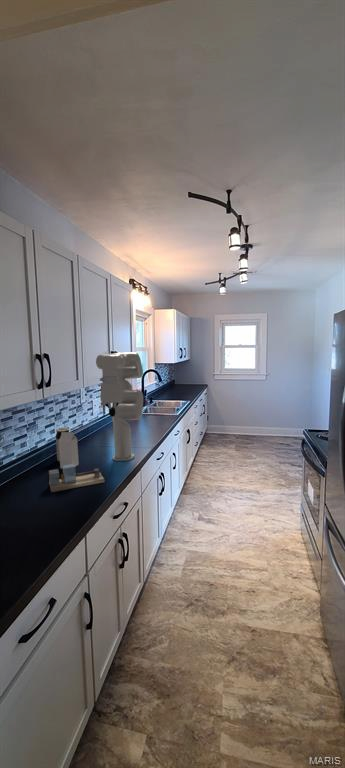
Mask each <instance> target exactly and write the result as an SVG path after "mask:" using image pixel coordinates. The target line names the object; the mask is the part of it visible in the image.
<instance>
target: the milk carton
mask: <svg viewBox="0 0 345 768" xmlns="http://www.w3.org/2000/svg"><path fill="white" fill-rule="evenodd" d="M59 454H60V461H59V464H60V469H62V470H63V465H66V464H72V463H74V466H75V468H76V467H77V466H79V464H80V461H79V447H78V437H76V435H75V433H74V432H72V431H71V432H70V431H69V432H61V437H60V439H59Z"/></svg>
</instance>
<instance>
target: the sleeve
mask: <svg viewBox="0 0 345 768" xmlns="http://www.w3.org/2000/svg"><path fill="white" fill-rule="evenodd" d="M62 474H63V476H64V482H65V484H66V483H72V482H76V477H77V476H76V474H77V473H76V467H75V466H74V463H72V464H66V465H63V469H62Z"/></svg>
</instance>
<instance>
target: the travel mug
mask: <svg viewBox="0 0 345 768" xmlns="http://www.w3.org/2000/svg"><path fill="white" fill-rule="evenodd" d="M55 432H56V434H55V445H56V457H57V459H56V460H57V461H58V462H60V454H59V439H60V437H61V432H70V428H69V427H60V428H57V429H55Z"/></svg>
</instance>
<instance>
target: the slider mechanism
mask: <svg viewBox="0 0 345 768" xmlns="http://www.w3.org/2000/svg"><path fill="white" fill-rule="evenodd" d="M48 476H49V482H48V483H49V484H48V485H49V487H50V492H51V493H55V492H59V491H65V490H69V489H70V490H71V489H75V488H80V487H85V486H91V485H97V484H101V483H102V484H103V483H105V481H106V480H105V478H104V476H103V475H102V473H101V472H100V469H99V468H97V467H96V468H93V470H91V471H86V472H85V471H84V472H80V473H78V472H77V473H76V482H72V483H66V484H65V482H64V476H63V473H61V474H60V472H59V468H58V469H51V470H48Z"/></svg>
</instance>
